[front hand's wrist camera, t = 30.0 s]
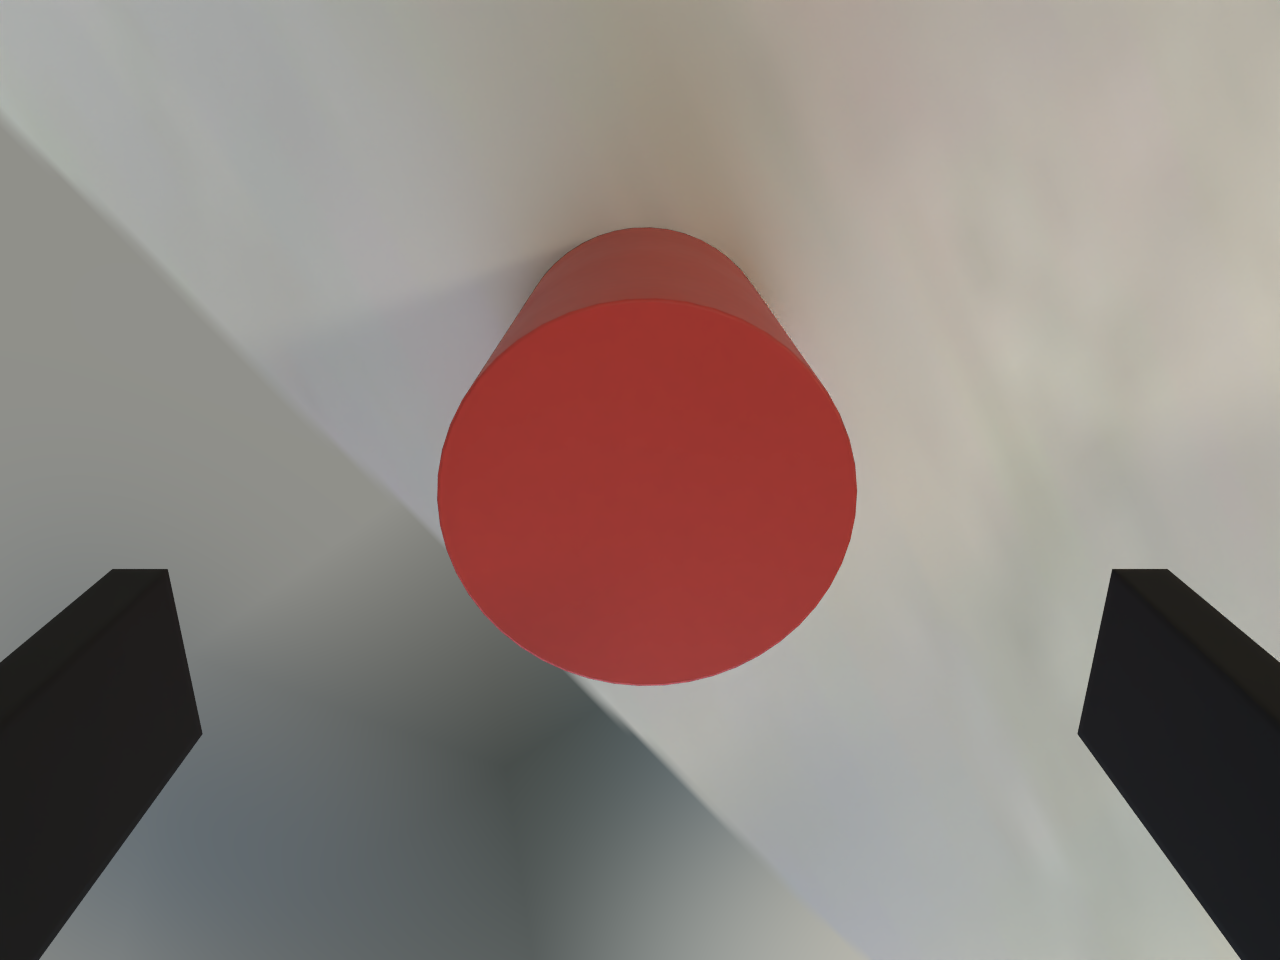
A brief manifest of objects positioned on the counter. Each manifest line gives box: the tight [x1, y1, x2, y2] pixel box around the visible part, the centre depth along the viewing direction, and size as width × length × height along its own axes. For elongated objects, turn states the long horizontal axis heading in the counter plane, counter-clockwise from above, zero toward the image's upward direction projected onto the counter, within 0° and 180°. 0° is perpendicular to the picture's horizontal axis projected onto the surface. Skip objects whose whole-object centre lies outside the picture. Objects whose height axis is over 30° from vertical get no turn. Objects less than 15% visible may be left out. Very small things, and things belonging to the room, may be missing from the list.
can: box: [437, 228, 857, 686], centre depth 23 cm, size 8×8×12 cm
